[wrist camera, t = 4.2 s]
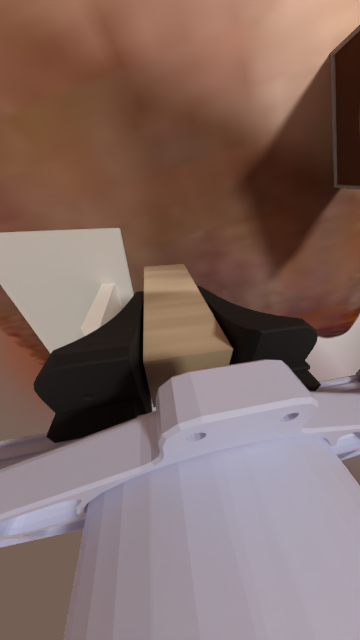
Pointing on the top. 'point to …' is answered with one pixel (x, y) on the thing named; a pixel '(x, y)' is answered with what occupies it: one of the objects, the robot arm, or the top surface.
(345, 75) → the food container
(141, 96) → the top surface
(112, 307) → the tile
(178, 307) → the stick
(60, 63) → the top surface
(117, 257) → the mat
